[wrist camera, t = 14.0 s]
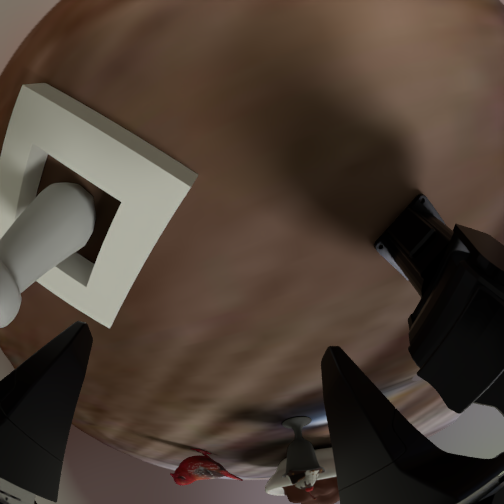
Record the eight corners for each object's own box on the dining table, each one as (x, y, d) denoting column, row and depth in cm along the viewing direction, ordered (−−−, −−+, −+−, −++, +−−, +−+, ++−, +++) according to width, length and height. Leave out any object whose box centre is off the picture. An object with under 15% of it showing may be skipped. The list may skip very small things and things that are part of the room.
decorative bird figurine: (176, 440, 45) (171, 482, 36) (246, 457, 50) (247, 493, 42) (170, 442, 46) (165, 483, 37) (239, 459, 51) (239, 494, 43)
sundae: (311, 427, 41) (322, 499, 28) (274, 429, 41) (280, 504, 28) (321, 412, 38) (335, 494, 25) (280, 415, 38) (288, 500, 25)
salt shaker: (47, 219, 20) (-42, 309, 9) (59, 163, 18) (-58, 239, 6) (96, 247, 22) (19, 359, 10) (113, 192, 19) (8, 297, 8)
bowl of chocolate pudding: (321, 466, 60) (327, 508, 47) (245, 463, 54) (246, 513, 41) (385, 433, 49) (398, 484, 36) (304, 433, 43) (313, 502, 30)
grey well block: (198, 174, 19) (191, 187, 16) (119, 307, 25) (109, 328, 23) (45, 82, 14) (22, 84, 11) (6, 229, 20) (-11, 242, 18)
